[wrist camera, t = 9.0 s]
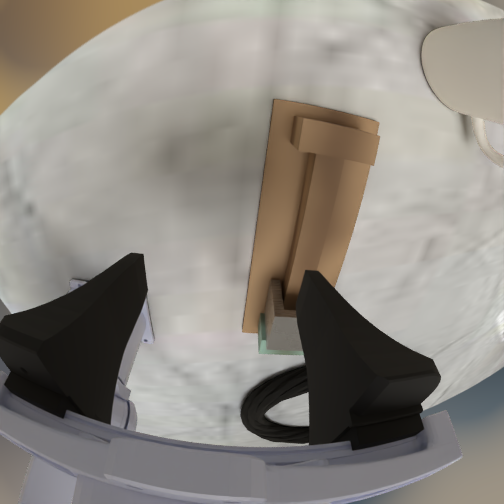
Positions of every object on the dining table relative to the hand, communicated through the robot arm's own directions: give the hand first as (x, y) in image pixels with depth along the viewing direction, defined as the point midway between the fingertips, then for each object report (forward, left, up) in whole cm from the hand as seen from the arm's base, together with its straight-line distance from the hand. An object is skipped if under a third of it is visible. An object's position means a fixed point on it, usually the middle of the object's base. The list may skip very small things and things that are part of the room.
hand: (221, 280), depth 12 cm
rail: (+6, -3, -10) cm, 12 cm away
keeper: (+6, -9, -10) cm, 15 cm away
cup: (+18, +14, -11) cm, 25 cm away
